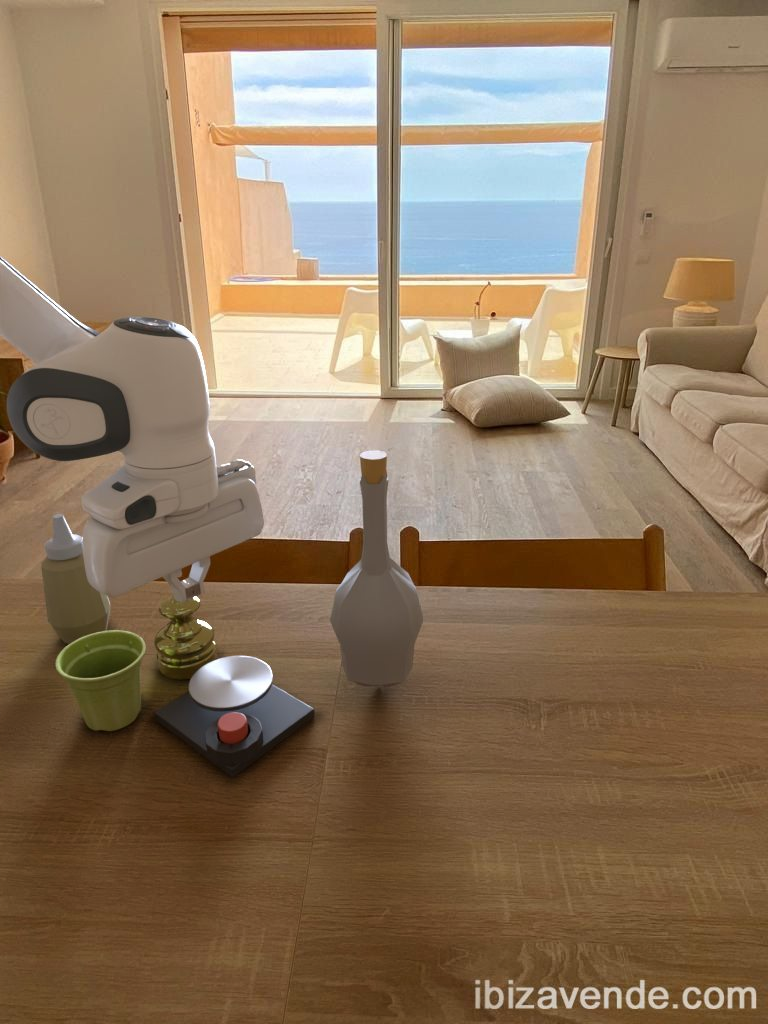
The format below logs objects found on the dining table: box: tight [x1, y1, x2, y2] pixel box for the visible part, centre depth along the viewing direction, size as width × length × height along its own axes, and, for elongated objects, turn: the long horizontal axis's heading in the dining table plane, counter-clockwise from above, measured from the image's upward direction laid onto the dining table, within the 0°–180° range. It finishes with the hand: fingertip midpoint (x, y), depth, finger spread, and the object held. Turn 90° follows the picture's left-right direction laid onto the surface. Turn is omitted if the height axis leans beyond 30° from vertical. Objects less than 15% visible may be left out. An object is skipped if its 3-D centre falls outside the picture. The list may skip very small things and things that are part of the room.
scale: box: [153, 683, 315, 778], centre depth 79 cm, size 14×12×3 cm
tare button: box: [218, 712, 248, 744], centre depth 74 cm, size 3×3×2 cm
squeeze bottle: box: [40, 513, 112, 645], centre depth 93 cm, size 8×8×18 cm
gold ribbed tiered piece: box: [153, 594, 218, 680], centre depth 88 cm, size 7×7×10 cm
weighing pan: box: [188, 655, 274, 712], centre depth 81 cm, size 10×10×1 cm
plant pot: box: [54, 629, 147, 732], centre depth 79 cm, size 9×9×9 cm
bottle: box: [329, 449, 424, 688], centre depth 79 cm, size 11×11×30 cm
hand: (189, 596), depth 77 cm, fingers closed
